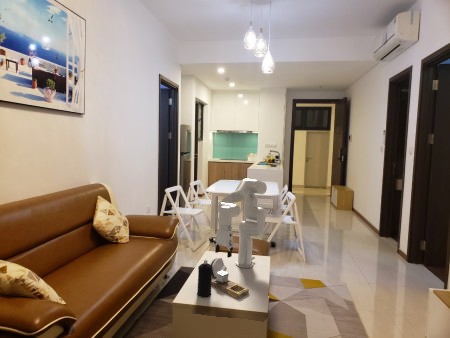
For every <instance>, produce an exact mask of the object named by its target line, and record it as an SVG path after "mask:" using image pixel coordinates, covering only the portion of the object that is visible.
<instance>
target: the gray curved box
mask: <svg viewBox="0 0 450 338" xmlns="http://www.w3.org/2000/svg"><path fill="white" fill-rule="evenodd" d="M209 264H210V265H211V266H212V267H213V269H212V278H216V276H217V272H220V271H225V272H227V269H228V268H227V266H226V265H225V263H224V260H223V259H222V257H216V258H213V259H212V260H211V261H210V263H209Z"/></svg>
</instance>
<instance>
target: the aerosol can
mask: <svg viewBox="0 0 450 338" xmlns="http://www.w3.org/2000/svg"><path fill="white" fill-rule="evenodd" d="M197 268H198V271H197V272H198V273H197V274H198V276H197V292H196V295H197V296H198V297H199V298H210V297H211V296H212V285H211V282H212V280H213V279H212V278H213V277H212V269H213V267H212V266H211V265H210V263H209V262H208V259H204V260H203V262H202V263H200V264H199V265H198V267H197Z"/></svg>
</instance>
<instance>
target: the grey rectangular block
mask: <svg viewBox="0 0 450 338" xmlns="http://www.w3.org/2000/svg"><path fill="white" fill-rule="evenodd" d="M215 279H216V282H217V283H219V284H221V285H224V284H226V283H228V280H229V272H227V271H220V272H217V276H216V277H215Z"/></svg>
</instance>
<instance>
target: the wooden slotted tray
mask: <svg viewBox="0 0 450 338" xmlns="http://www.w3.org/2000/svg"><path fill="white" fill-rule="evenodd" d="M211 287H213V288H216V289H218V290H220V291H222V292H224V293H226V294H228V295H230V296H232V297H234V298H236V299H238V300H240V299H241V298H243V297H245V296H247V295H248V294H250V293H249V292H250V289H249V288H247V287H245V286H242V285H241V284H238V283H236V282H234V281H231V280H229V279H228V283H226V284H224V285H221V284H219V283H217V282H216V278H213V279H212V282H211ZM235 290H238V292H237V291H235Z"/></svg>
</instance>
